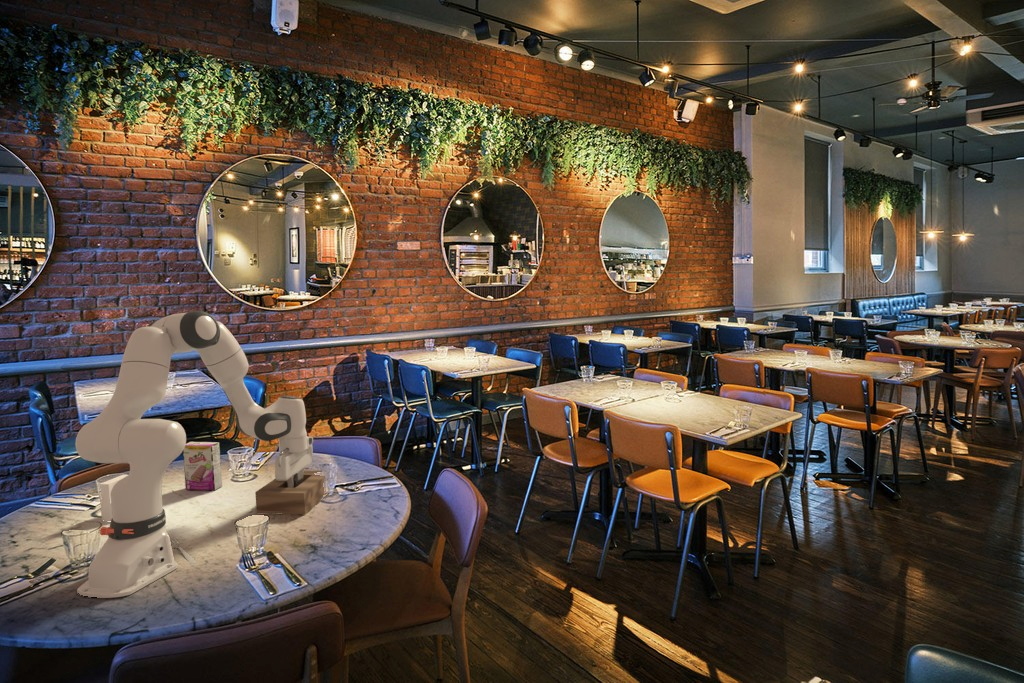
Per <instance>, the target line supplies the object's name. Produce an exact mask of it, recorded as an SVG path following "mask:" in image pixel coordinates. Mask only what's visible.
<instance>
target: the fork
mask: <svg viewBox="0 0 1024 683" xmlns="http://www.w3.org/2000/svg"><path fill="white" fill-rule="evenodd" d="M168 535H169V537H170V542H171V543H172V544H173V543H177V542H179V541H178V540H177V538H176V537H175V536H174V535H173V534H171V535H170V534H168ZM178 546H179V547H178ZM178 546H176V548H175V549H178V550H179V551H180V552H181V553H182V555H183V556H184V558H185V560H186V561H187V562H188V563H190V564H196V563H197V560H196V559H195V558H194V557H193V556H191V554H189V553H188V552H187V551H186V550H185V549H184V548H182V547H181V545H178ZM194 559H195V560H196V561H195V560H194Z"/></svg>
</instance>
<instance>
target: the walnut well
mask: <svg viewBox="0 0 1024 683" xmlns="http://www.w3.org/2000/svg"><path fill="white" fill-rule="evenodd" d="M322 471H323V470H311V469H310V470H308V469H304V473H303V477H304V482H302V483H301V484H300V485H298V486H297V487H296V488H287V482H286V481H277V480H276V478H275V477H274V479H272V480H271V481H269V482H268V483H266V484H265V485H263V486H262V487H261V488H259V489H258V490H257V491H255V507H256V514H257V513H270V514H269V515H273V514H272V513H275V514H274V515H277V514H276V513H282V514H281V515H291V514H306V513H307V512H308V513H309V512H310V511H311V510H312V509H314V508H315V507H316V506H317V505H319V503H321V499H322V497H323V495H324V487H323V483H324V478H325V476H320V475H315V474H314V473H317V472H322ZM315 505H316V506H315ZM314 506H315V507H314ZM313 507H314V508H313ZM308 513H307V514H308ZM307 514H306V515H307Z"/></svg>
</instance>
